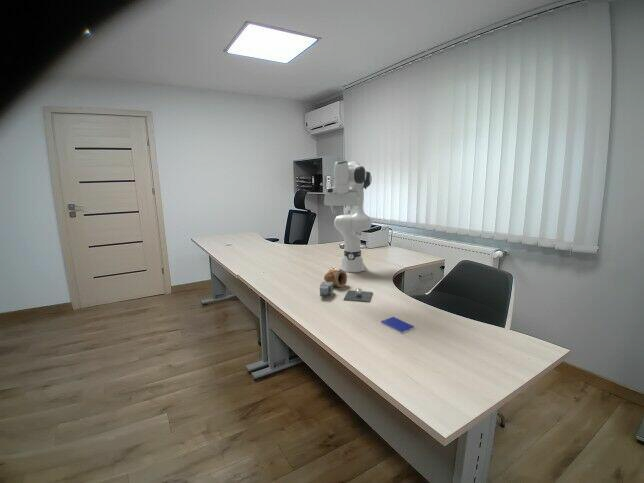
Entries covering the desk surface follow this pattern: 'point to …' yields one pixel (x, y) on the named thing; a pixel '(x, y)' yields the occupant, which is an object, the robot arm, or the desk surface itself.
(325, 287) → the stepped gray block
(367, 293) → the duct plate
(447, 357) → the desk surface
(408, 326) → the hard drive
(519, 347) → the desk surface
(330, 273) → the clay pipe
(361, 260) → the robot arm
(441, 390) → the desk surface
